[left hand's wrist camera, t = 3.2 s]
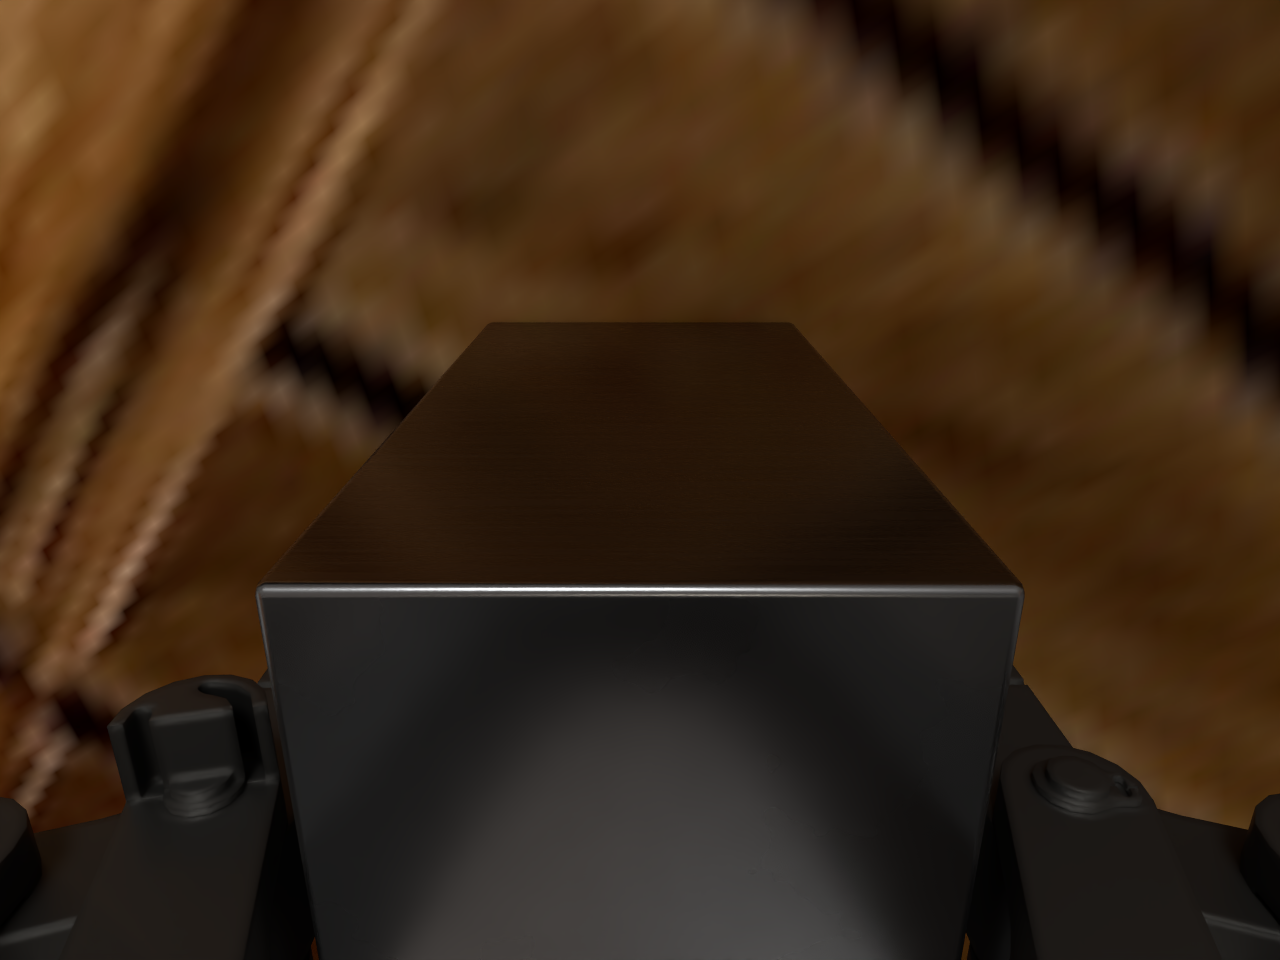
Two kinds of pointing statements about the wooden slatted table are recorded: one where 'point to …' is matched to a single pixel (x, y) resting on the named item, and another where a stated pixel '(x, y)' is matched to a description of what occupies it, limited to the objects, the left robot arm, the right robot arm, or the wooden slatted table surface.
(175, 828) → the left robot arm
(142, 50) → the wooden slatted table surface
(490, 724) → the bar
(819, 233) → the wooden slatted table surface
